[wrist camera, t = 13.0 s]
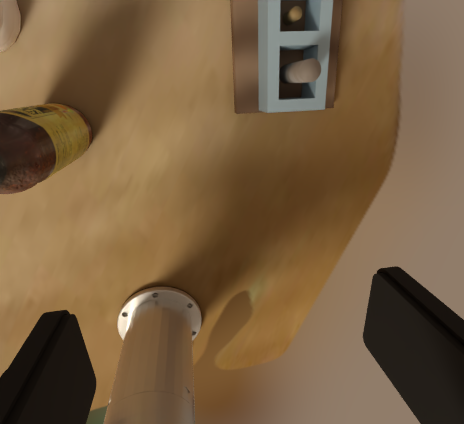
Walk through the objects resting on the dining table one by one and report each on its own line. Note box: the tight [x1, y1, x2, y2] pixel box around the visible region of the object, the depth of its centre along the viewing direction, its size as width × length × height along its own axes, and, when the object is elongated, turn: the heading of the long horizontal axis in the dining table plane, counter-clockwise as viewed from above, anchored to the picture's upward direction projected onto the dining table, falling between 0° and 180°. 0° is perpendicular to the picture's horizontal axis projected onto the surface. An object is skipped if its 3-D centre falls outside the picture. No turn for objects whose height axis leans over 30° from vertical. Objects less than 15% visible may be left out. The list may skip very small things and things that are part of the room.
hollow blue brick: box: [258, 0, 333, 113], centre depth 31 cm, size 12×6×4 cm, turn 2°
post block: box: [230, 0, 342, 114], centre depth 30 cm, size 14×12×8 cm
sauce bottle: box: [0, 103, 92, 194], centre depth 25 cm, size 7×6×20 cm
